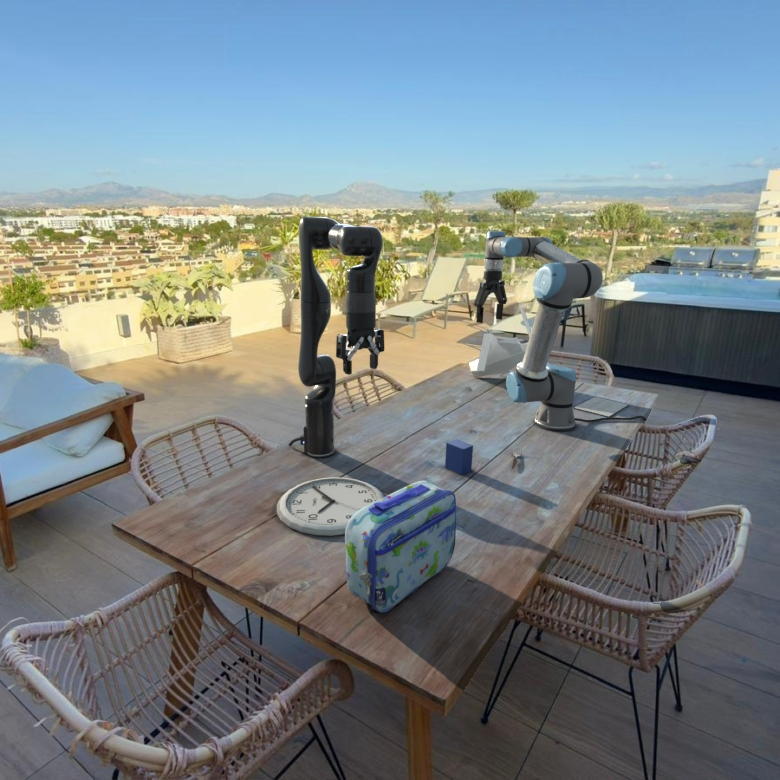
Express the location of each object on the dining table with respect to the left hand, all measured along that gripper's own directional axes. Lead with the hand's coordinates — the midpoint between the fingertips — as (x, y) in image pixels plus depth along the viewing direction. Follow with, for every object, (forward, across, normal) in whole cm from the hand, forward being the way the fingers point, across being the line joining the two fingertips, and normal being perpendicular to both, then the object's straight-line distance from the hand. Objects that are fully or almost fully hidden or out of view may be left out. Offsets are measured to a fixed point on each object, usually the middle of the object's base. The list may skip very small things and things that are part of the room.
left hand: (360, 371), depth 137 cm
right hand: (+2, -98, -32) cm, 103 cm away
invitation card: (+37, -129, +7) cm, 134 cm away
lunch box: (+37, +17, +35) cm, 54 cm away
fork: (+37, -54, +15) cm, 67 cm away
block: (+37, -35, +6) cm, 51 cm away
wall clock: (+37, +9, -1) cm, 38 cm away
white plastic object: (+37, -127, -40) cm, 138 cm away
